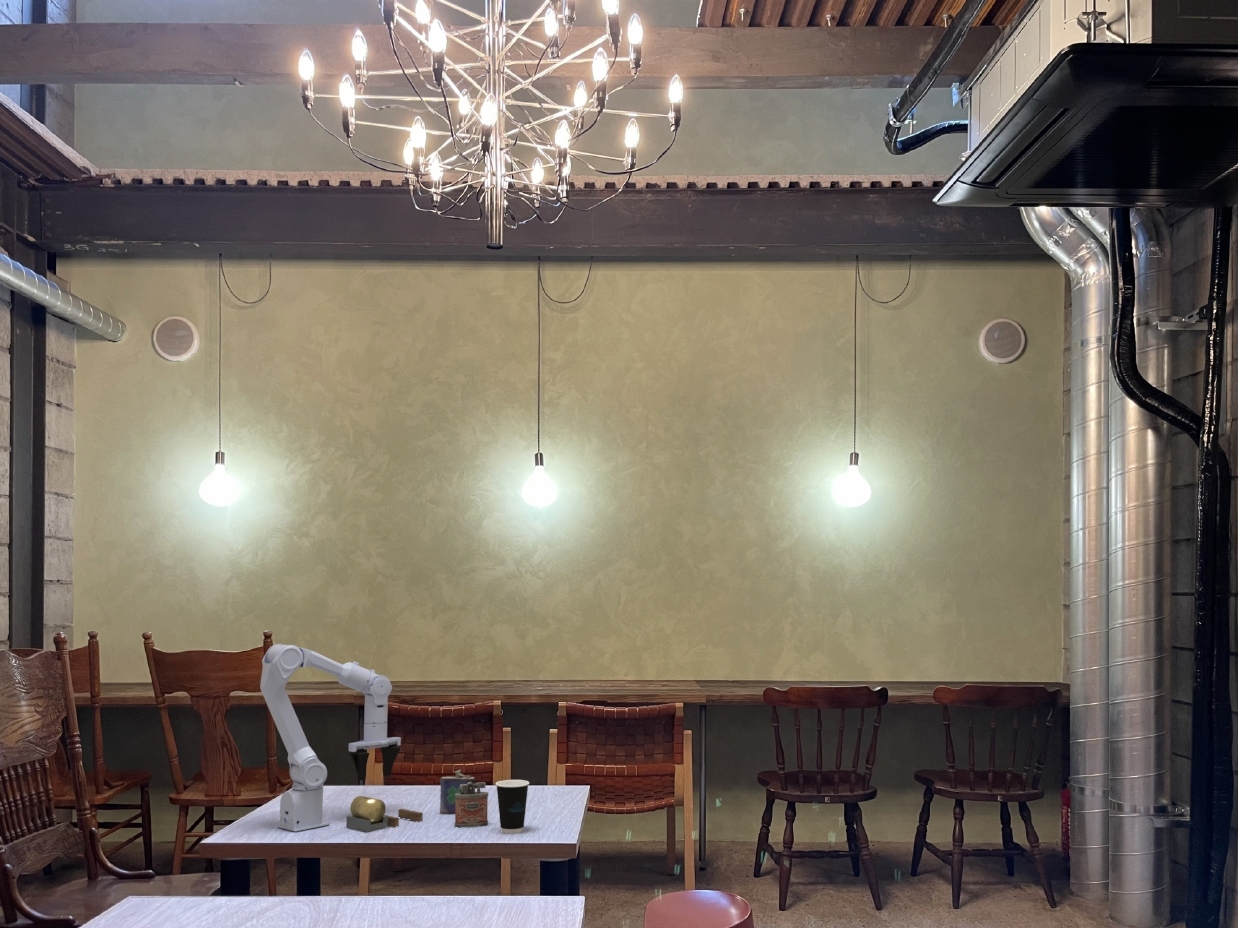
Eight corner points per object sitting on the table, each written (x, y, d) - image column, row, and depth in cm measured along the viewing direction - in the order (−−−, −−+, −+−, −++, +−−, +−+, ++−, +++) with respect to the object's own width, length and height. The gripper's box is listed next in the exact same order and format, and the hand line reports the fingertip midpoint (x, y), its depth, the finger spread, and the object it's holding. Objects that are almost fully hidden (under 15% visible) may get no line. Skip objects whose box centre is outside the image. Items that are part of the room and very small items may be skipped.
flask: (438, 814, 254) (439, 770, 255) (442, 811, 257) (443, 768, 258) (473, 815, 252) (474, 771, 253) (477, 812, 255) (477, 769, 256)
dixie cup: (516, 836, 229) (516, 786, 231) (488, 832, 233) (488, 783, 234) (535, 829, 236) (535, 781, 238) (507, 825, 240) (508, 778, 241)
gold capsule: (385, 818, 239) (385, 797, 240) (368, 823, 235) (368, 801, 236) (367, 814, 244) (367, 793, 244) (350, 819, 240) (350, 797, 240)
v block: (366, 832, 234) (366, 820, 235) (346, 827, 240) (346, 815, 240) (387, 827, 239) (387, 815, 239) (367, 822, 244) (367, 811, 244)
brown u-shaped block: (394, 827, 239) (394, 818, 240) (374, 822, 244) (374, 814, 245) (422, 821, 246) (422, 812, 246) (402, 816, 251) (402, 808, 251)
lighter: (455, 828, 238) (455, 784, 239) (453, 825, 241) (454, 782, 243) (489, 825, 240) (489, 782, 241) (487, 822, 243) (487, 780, 245)
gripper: (361, 726, 246) (359, 783, 245) (408, 720, 257) (407, 775, 256) (344, 724, 251) (342, 780, 249) (391, 718, 262) (390, 772, 260)
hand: (374, 777), depth 253 cm, fingers open, 7 cm apart
